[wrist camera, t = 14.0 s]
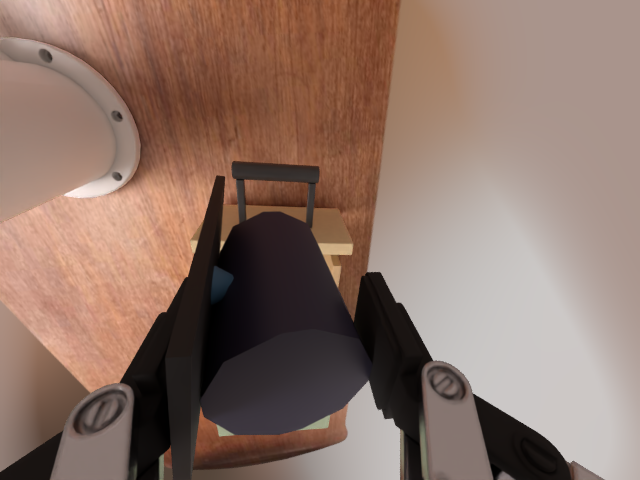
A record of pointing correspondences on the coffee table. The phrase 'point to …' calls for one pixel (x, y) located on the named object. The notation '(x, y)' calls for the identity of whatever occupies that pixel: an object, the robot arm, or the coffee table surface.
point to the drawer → (288, 209)
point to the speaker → (258, 334)
